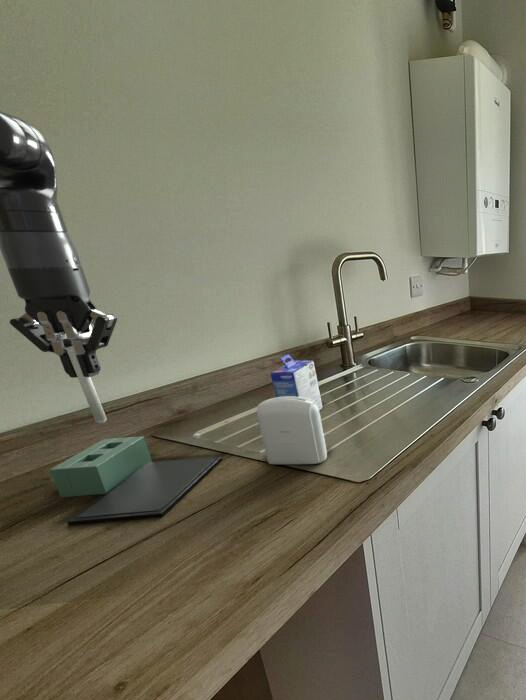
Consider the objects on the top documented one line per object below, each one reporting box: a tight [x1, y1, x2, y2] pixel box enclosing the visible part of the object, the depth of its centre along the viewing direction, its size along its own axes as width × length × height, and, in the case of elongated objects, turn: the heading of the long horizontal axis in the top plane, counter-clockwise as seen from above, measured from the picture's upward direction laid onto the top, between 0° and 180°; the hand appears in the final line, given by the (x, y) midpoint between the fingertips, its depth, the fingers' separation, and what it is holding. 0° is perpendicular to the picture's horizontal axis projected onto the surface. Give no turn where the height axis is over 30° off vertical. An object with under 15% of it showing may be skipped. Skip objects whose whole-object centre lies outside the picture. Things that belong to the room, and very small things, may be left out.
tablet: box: [66, 456, 223, 526], centre depth 66 cm, size 12×17×1 cm
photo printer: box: [256, 396, 328, 465], centre depth 73 cm, size 10×4×12 cm, turn 90°
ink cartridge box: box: [270, 353, 323, 411], centre depth 92 cm, size 10×6×14 cm, turn 2°
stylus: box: [67, 346, 108, 425], centre depth 66 cm, size 1×1×13 cm
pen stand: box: [49, 435, 153, 498], centre depth 69 cm, size 6×11×5 cm, turn 9°
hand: (85, 375), depth 66 cm, fingers closed on stylus, 1 cm apart
